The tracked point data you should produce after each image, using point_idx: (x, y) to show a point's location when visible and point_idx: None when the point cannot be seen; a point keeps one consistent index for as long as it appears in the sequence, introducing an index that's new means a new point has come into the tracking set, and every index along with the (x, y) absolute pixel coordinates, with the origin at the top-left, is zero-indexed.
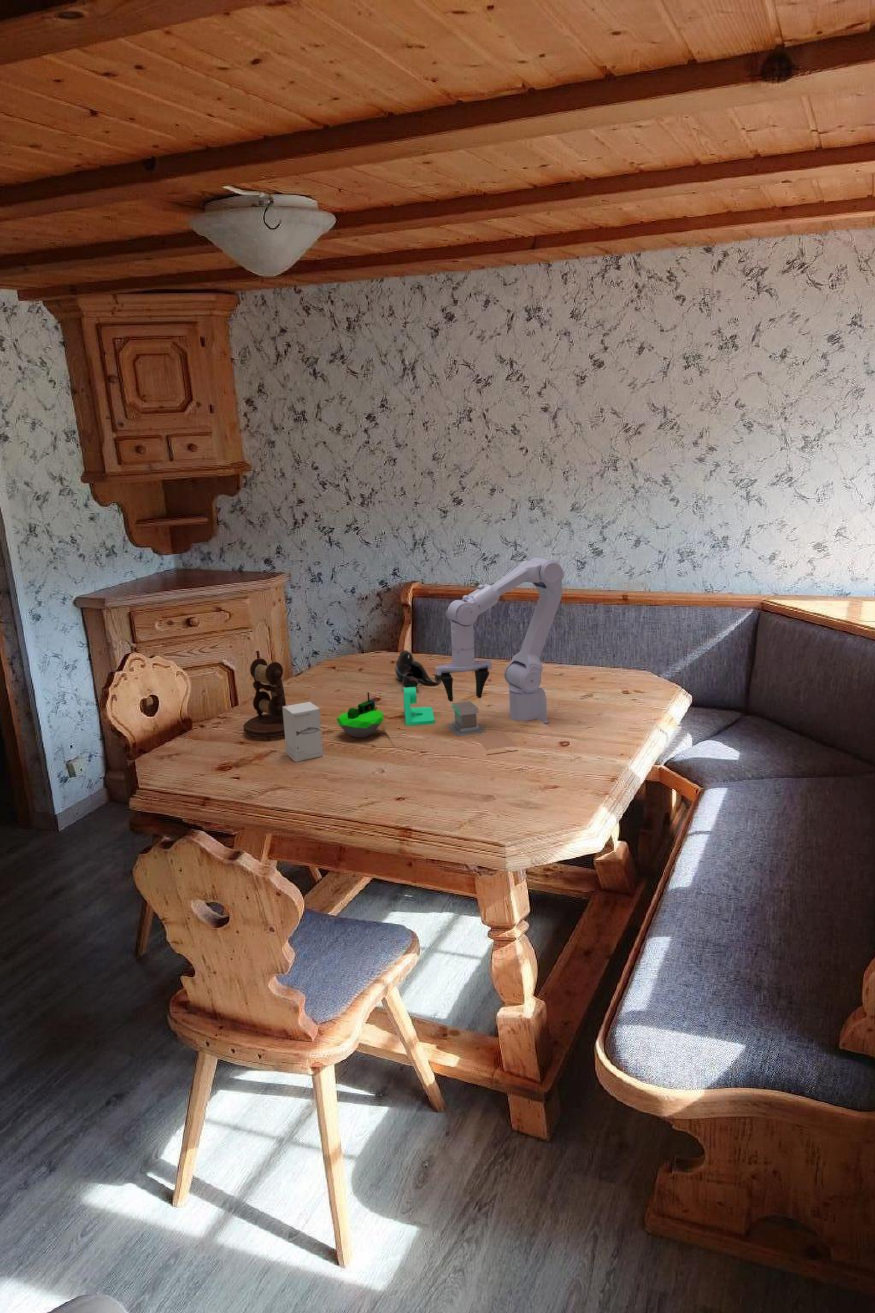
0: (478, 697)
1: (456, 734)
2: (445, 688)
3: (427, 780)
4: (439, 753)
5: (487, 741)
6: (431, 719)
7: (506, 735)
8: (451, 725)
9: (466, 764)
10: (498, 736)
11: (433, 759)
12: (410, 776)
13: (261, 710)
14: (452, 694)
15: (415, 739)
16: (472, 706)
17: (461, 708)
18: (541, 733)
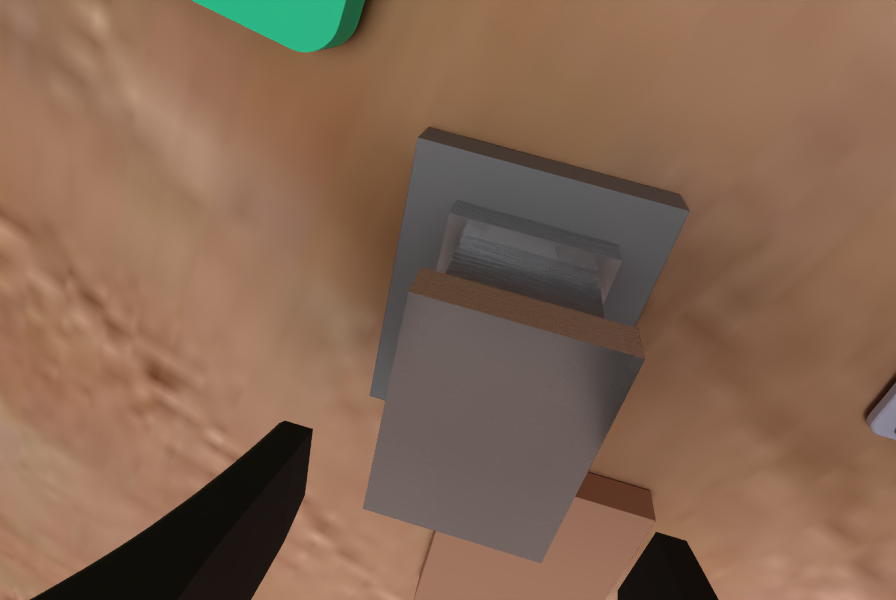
0: (624, 586)
1: (381, 375)
2: (165, 526)
3: None
4: (232, 437)
5: (478, 548)
6: (308, 13)
7: (627, 556)
8: (441, 201)
9: (298, 578)
10: (578, 540)
11: (186, 470)
12: (66, 529)
13: None
14: (255, 587)
15: (157, 177)
16: (534, 497)
17: (411, 474)
18: (888, 566)
